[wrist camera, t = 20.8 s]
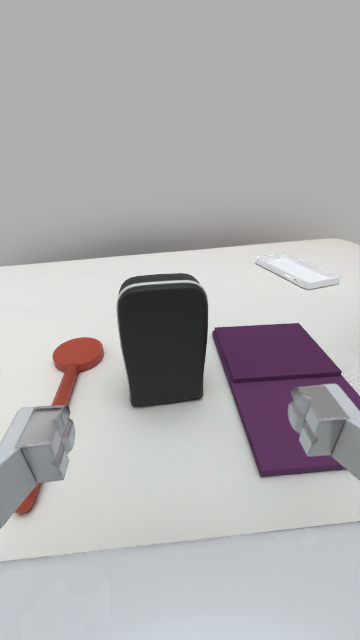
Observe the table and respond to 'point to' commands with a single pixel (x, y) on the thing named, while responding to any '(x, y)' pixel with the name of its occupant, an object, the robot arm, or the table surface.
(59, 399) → the spoon
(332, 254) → the table surface
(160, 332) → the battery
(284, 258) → the phone case
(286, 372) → the cloth
